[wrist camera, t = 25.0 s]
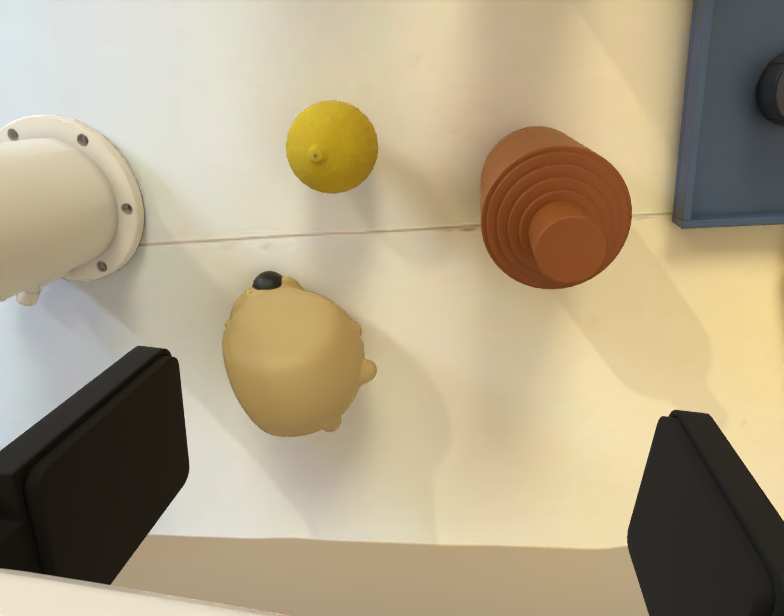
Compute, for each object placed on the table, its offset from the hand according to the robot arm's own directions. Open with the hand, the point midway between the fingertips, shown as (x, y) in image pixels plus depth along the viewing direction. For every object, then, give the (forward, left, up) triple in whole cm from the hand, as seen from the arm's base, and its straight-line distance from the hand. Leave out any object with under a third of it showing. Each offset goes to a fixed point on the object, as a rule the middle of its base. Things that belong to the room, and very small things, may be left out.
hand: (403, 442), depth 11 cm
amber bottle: (+3, -4, -30) cm, 31 cm away
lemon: (-2, +8, -31) cm, 32 cm away
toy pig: (-16, +3, -31) cm, 35 cm away
